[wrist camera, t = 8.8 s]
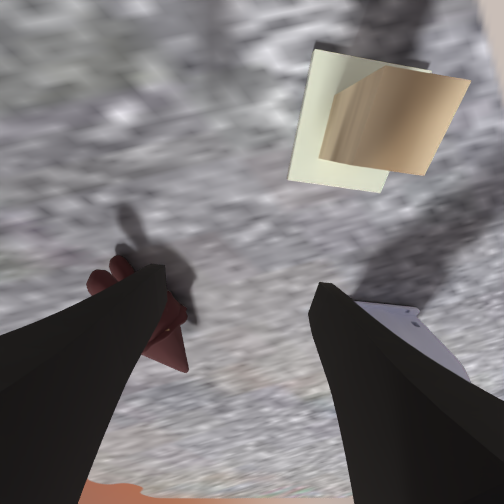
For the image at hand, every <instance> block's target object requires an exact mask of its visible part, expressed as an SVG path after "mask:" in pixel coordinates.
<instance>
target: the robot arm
mask: <svg viewBox="0 0 504 504" xmlns="http://www.w3.org/2000/svg"><path fill="white" fill-rule="evenodd" d="M167 301H168V299H167V287H166V275H165V265H156V264H150V265H148V266H146V267H144V268H142V269H140V270H139V271H137V272H135V273H133V274H132V275H130V276H128V277H126V278H124V279H123V280H121V281H119V282H117V283H115V284H114V285H112V286H110V287H108V288H106V289H105V290H103V291H101V292H99V293H97V294H95V295H93V296H91V297H89V298H87V299H85V300H83V301H81V302H79V303H77V304H75V305H73V306H71V307H69V308H66V309H64V310H62V311H60V312H58V313H55V314H53V315H51V316H48V317H46V318H44V319H41V320H39V321H37V322H34V323H32V324H29V325H27V326H24V327H21V328H19V329H16V330H14V331H11V332H8V333H6V334H3V335H0V504H78V501H79V499H80V496H81V493H82V490H83V488H84V485H85V482H86V480H87V477H88V475H89V472H90V470H91V467H92V465H93V462H94V459H95V457H96V454H97V452H98V449H99V447H100V444H101V442H102V439H103V437H104V434H105V432H106V430H107V427H108V425H109V422H110V420H111V417H112V415H113V413H114V410H115V408H116V406H117V403H118V401H119V399H120V396H121V394H122V392H123V390H124V387H125V385H126V383H127V381H128V379H129V377H130V375H131V373H132V371H133V369H134V367H135V365H136V363H137V361H138V359H139V358H140V356H141V354H142V352H143V350H144V349H145V347H146V345H147V343H148V341H149V339H150V338H151V336H152V334H153V332H154V330H155V328H156V327H157V325H158V323H159V321H160V319H161V316H162V314H163V311H164V309H165V306H166V303H167ZM419 312H420V310H419V309H418V308H417V307H409V306H399V305H389V304H379V303H369V302H360V301H353V300H352V299H351V298H350V297H348V296H347V295H346V294H345V293H344V292H342V291H341V290H340V289H339V288H338V287H336V286H335V285H333V284H332V283H324V282H319V285H318V287H317V290H316V293H315V296H314V299H313V301H312V304H311V307H310V310H309V313H308V316H309V322H310V327H311V332H312V336H313V339H314V342H315V345H316V348H317V351H318V354H319V357H320V360H321V363H322V366H323V369H324V372H325V375H326V377H327V380H328V383H329V387H330V390H331V394H332V397H333V402H334V406H335V410H336V414H337V418H338V423H339V427H340V432H341V437H342V441H343V446H344V451H345V456H346V461H347V466H348V471H349V477H350V482H351V487H352V493H353V499H354V504H504V401H503V400H501V399H499V398H497V397H495V396H493V395H491V394H490V393H488V392H486V391H484V390H483V389H481V388H479V387H477V386H476V385H474V384H472V383H471V381H470V378H469V376H468V374H467V372H466V370H465V368H464V367H463V365H462V364H461V362H460V361H459V360H458V359H457V358H456V357H455V356H454V355H453V354H452V353H451V351H450V350H449V349H448V348H447V347H446V346H445V345H444V344H443V343H442V342H441V341H440V340H439V339H438V338H437V337H436V336H435V335H434V334H433V333H432V332H431V331H430V330H429V329H428V328H427V327H426V326H425V325H424V324H423V323H422V321H421V320H420V319H419V318H418V317H417V315H418V314H419Z"/></svg>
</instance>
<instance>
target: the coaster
mask: <svg viewBox="0 0 504 504" xmlns="http://www.w3.org/2000/svg"><path fill="white" fill-rule="evenodd" d="M385 65H386V66H392V67H397V68H403V69H409V70H414V71H420V72H426V73H431V72H432V71H429V70H424V69H418V68H413V67H408V66H402V65H397V64H392V63H386V62H381V61H376V60H370V59H365V58H360V57H355V56H349V55H344V54H339V53H333V52H328V51H323V50H317V49H315V50H314V51H313V53H312V57H311V62H310V67H309V72H308V77H307V82H306V87H305V92H304V97H303V101H302V106H301V111H300V116H299V121H298V126H297V131H296V136H295V141H294V146H293V151H292V155H291V160H290V165H289V170H288V175H287V180H292V181H299V182H306V183H313V184H320V185H327V186H334V187H341V188H348V189H355V190H363V191H370V192H377V193H381V190H382V188H383V185H384V183H385V181H386V178H387V176H388V174H389V171H387V170H380V169H373V168H366V167H359V166H352V165H347V164H342V163H338V162H333V161H328V160H323V159H318V157H319V154H320V150H321V146H322V142H323V138H324V134H325V130H326V126H327V122H328V118H329V114H330V111H331V107H332V103H333V99H334V95H336V94H338V93H339V92H341V91H343V90H344V89H346V88H348V87H350V86H351V85H353V84H355V83H356V82H358V81H360V80H362V79H363V78H365V77H367V76H368V75H370V74H372V73H373V72H375V71H377V70H379V69H380V68H382V67H384V66H385Z"/></svg>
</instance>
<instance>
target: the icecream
mask: <svg viewBox="0 0 504 504" xmlns="http://www.w3.org/2000/svg"><path fill="white" fill-rule="evenodd" d="M109 268H110V271H111V274H112V275H111V274H110V273H109V272H108V271H106V270H98V269H97V270H94V271H93V272H92V273H91V275H90V277H89V279H88V281H87V283H86V285H87V289H88V292H89V293H90V294H91V295H92V296H93V295H95V294H97V293H99V292H101V291H103V290H105V289H106V288H108V287H110V286H112V285H114V284H115V283H117V282H119V281H121V280H123V279H124V278H126V277H128V276H130V275H132V274H133V273H135V272H134V270H133V268H132V266H131V265H130V264H129V263H128V261H127V260H126V259H125V258H124V257H122V256H121V255H117V256H114V257H113V258H112V259H111V260H110V264H109ZM167 299H168V301H167V303H166V306H165V309H164V311H163V314H162V316H161V319H160V321H159V323H158V325H157V327H156V328H155V330H154V332H153V334H152V336H151V338H150V339H149V341H148V343H147V345H146V347H145V349H144V350H143V352H142V354H141V355H144V356H146V357H148V358H151V359H153V360H155V361H158V362H160V363H162V364H165V365H167V366H169V367H171V368H174V369H176V370H178V371H181V372H184V373H187V372H188V371H189V367H188V362H187V357H186V353H185V348H184V342H183V337H182V332H181V327H180V325H181V324H183V323H184V322H185V321H186V320H187V317H188V316H187V313H186V310H187V308H186V307H185V306H183V305H182V304H180V303H179V302H178V301H177V300H176V299H175V298H174V297H173V296H172V293H171V292H170V291H167Z"/></svg>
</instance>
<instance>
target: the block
mask: <svg viewBox="0 0 504 504" xmlns="http://www.w3.org/2000/svg"><path fill="white" fill-rule="evenodd" d="M470 83H471V81H470V80H465V79H459V78H454V77H448V76H442V75H437V74H431V73H426V72H420V71H414V70H409V69H403V68H397V67H392V66H386V65H385V66H384V67H382V68H380V69H379V70H377V71H375V72H373V73H372V74H370V75H368V76H367V77H365V78H363V79H362V80H360V81H358V82H356V83H355V84H353V85H351V86H350V87H348V88H346V89H344V90H343V91H341V92H339V93H338V94H336V95H334V99H333V103H332V107H331V111H330V114H329V118H328V122H327V126H326V130H325V134H324V138H323V142H322V146H321V150H320V154H319V157H318V159H323V160H328V161H333V162H338V163H342V164H347V165H352V166H359V167H366V168H373V169H380V170H387V171H394V172H401V173H408V174H415V175H422V176H424V175H425V173H426V171H427V169H428V167H429V165H430V163H431V161H432V159H433V157H434V155H435V153H436V151H437V149H438V147H439V145H440V143H441V141H442V139H443V137H444V135H445V133H446V131H447V129H448V127H449V125H450V123H451V121H452V119H453V117H454V115H455V113H456V111H457V109H458V107H459V105H460V103H461V101H462V99H463V97H464V95H465V93H466V91H467V89H468V87H469V85H470Z"/></svg>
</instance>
